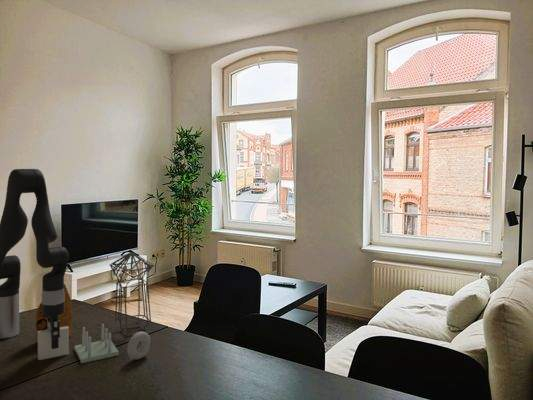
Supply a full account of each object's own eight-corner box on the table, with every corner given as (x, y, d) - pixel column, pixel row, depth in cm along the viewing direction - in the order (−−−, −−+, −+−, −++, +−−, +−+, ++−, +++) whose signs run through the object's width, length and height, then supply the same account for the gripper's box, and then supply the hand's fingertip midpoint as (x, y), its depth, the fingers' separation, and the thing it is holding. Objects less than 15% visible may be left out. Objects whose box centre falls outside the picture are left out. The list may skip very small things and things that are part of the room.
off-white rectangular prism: (37, 357, 148) (37, 331, 148) (67, 351, 154) (67, 326, 153) (38, 360, 146) (38, 333, 146) (68, 354, 152) (68, 328, 151)
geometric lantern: (156, 334, 174) (155, 253, 171) (118, 342, 165) (117, 257, 162) (145, 322, 187) (144, 248, 184) (109, 330, 178) (107, 251, 175)
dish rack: (74, 349, 156) (74, 327, 156) (109, 342, 163) (109, 322, 163) (81, 363, 144) (81, 339, 144) (118, 355, 152) (118, 332, 151)
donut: (131, 365, 144) (131, 337, 143) (124, 362, 145) (125, 335, 145) (152, 355, 152) (152, 328, 152) (145, 352, 154) (145, 327, 154)
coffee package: (31, 343, 161) (31, 288, 161) (58, 332, 173) (58, 282, 172) (49, 347, 158) (49, 291, 157) (75, 336, 169) (75, 284, 168)
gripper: (39, 298, 153) (40, 340, 154) (43, 307, 141) (44, 353, 142) (61, 295, 157) (62, 336, 158) (67, 304, 145) (67, 348, 146)
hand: (53, 344), depth 150 cm, fingers open, 8 cm apart
